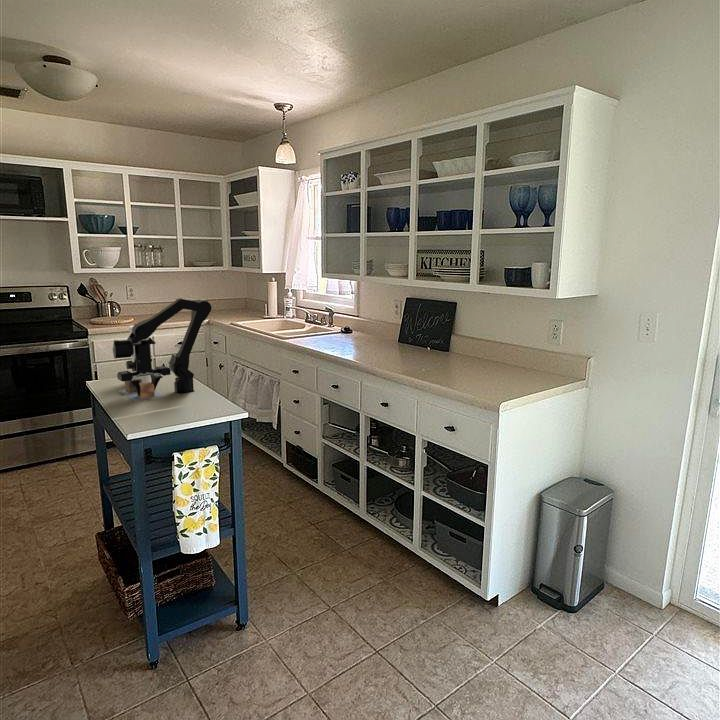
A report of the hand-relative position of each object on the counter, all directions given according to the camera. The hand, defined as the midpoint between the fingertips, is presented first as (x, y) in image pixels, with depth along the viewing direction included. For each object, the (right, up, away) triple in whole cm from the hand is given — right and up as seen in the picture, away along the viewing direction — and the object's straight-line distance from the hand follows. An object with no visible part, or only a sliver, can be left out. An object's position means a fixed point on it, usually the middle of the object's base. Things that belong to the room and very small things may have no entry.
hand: (145, 394), depth 207 cm
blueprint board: (-4, 0, +4) cm, 6 cm away
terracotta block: (0, -1, 0) cm, 1 cm away
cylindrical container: (-11, +3, +22) cm, 25 cm away
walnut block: (-8, +1, +8) cm, 11 cm away
